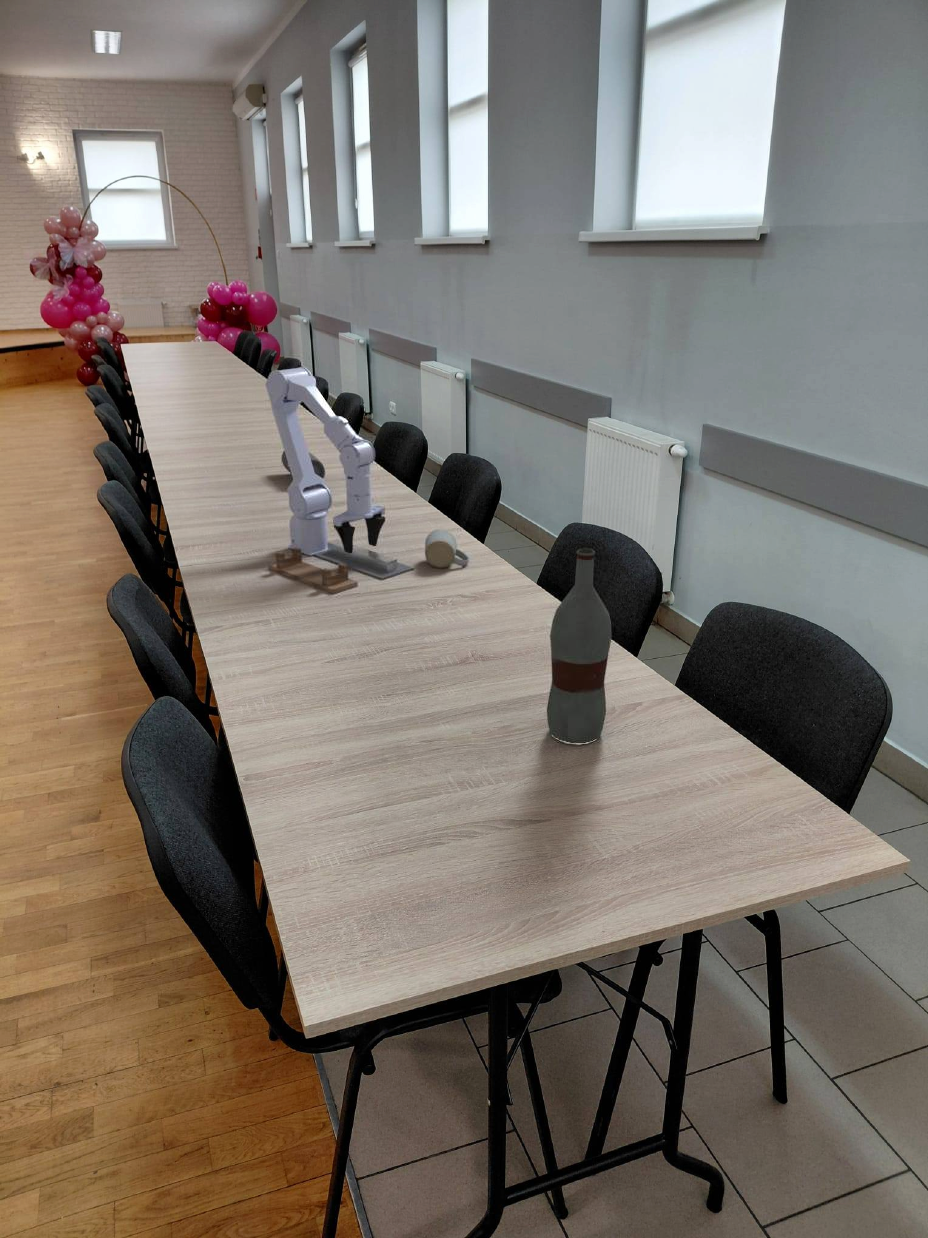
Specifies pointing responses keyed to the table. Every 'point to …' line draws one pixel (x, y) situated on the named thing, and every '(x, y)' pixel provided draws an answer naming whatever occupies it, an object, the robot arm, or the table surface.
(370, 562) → the steel rail
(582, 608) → the bottle
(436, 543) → the ceramic mug
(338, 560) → the rubber mat
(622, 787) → the table surface
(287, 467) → the bluetooth speaker
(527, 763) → the table surface
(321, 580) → the walnut standards
